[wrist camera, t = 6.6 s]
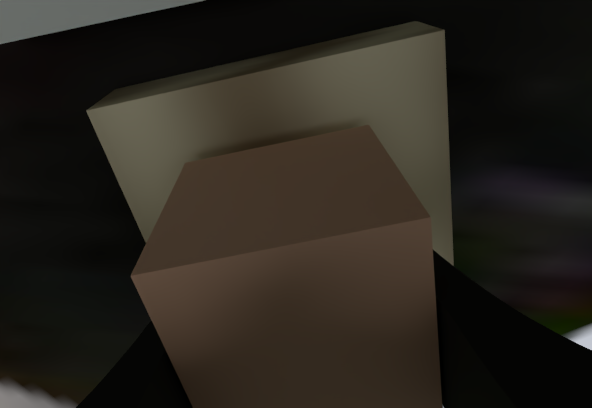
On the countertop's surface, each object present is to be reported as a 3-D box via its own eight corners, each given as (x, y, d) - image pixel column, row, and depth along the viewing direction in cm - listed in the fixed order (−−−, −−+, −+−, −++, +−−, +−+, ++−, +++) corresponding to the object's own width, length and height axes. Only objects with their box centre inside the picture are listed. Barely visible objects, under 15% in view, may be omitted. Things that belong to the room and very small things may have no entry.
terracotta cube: (368, 124, 11) (431, 217, 7) (387, 274, 14) (443, 416, 9) (185, 163, 12) (130, 275, 7) (234, 304, 14) (215, 455, 9)
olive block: (411, 19, 14) (444, 29, 11) (429, 262, 19) (455, 309, 16) (119, 86, 15) (86, 110, 12) (208, 306, 19) (198, 358, 17)
